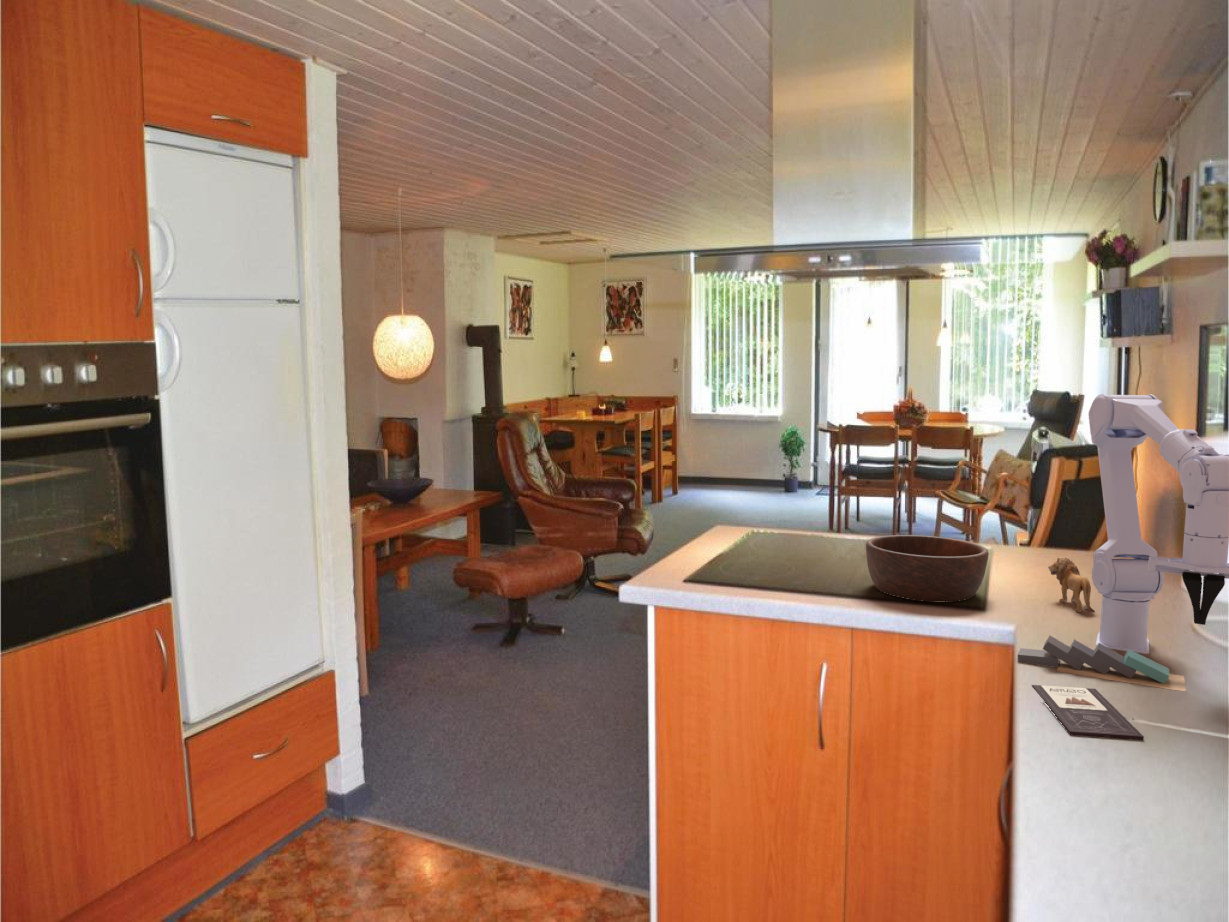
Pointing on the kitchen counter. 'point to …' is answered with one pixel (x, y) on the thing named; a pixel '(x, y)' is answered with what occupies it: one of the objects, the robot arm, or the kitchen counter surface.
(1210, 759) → the kitchen counter surface
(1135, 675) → the cork strip
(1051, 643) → the domino
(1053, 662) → the domino
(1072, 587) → the lion figurine
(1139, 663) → the domino
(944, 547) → the wooden bowl
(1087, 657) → the domino
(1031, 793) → the kitchen counter surface
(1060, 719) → the chocolate bar
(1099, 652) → the domino
